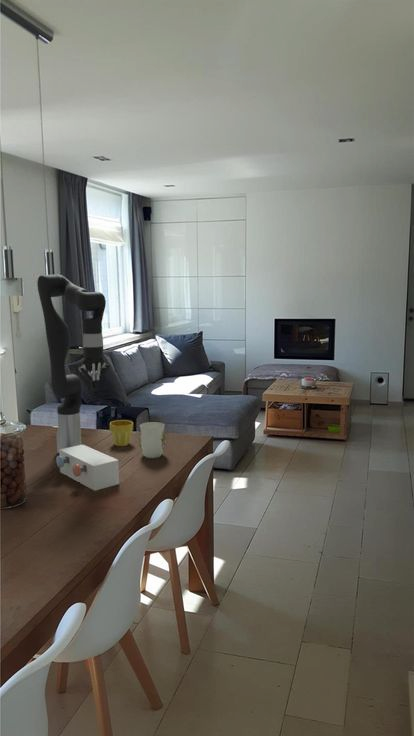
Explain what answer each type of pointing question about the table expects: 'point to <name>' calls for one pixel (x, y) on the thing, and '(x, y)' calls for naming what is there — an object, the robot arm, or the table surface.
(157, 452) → the pitcher
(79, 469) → the red key
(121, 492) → the table surface
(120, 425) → the plant pot
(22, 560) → the table surface
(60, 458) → the blue key
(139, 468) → the table surface
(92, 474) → the key box
